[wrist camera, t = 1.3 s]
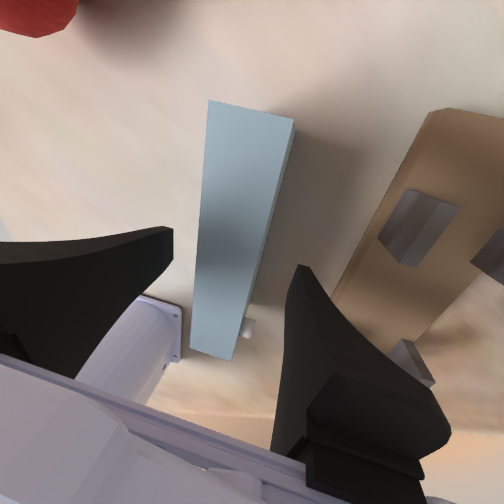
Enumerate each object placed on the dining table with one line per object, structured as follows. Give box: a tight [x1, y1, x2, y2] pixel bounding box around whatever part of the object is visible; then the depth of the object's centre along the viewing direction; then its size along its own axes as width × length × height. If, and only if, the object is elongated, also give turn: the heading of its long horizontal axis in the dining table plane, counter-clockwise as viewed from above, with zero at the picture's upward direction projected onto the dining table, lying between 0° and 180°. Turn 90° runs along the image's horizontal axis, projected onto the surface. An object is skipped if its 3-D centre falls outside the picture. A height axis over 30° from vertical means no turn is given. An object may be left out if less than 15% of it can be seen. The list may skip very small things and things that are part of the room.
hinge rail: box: [330, 108, 504, 388], centre depth 13 cm, size 20×6×4 cm, turn 168°
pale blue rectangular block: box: [189, 100, 296, 362], centre depth 13 cm, size 14×4×6 cm, turn 168°
